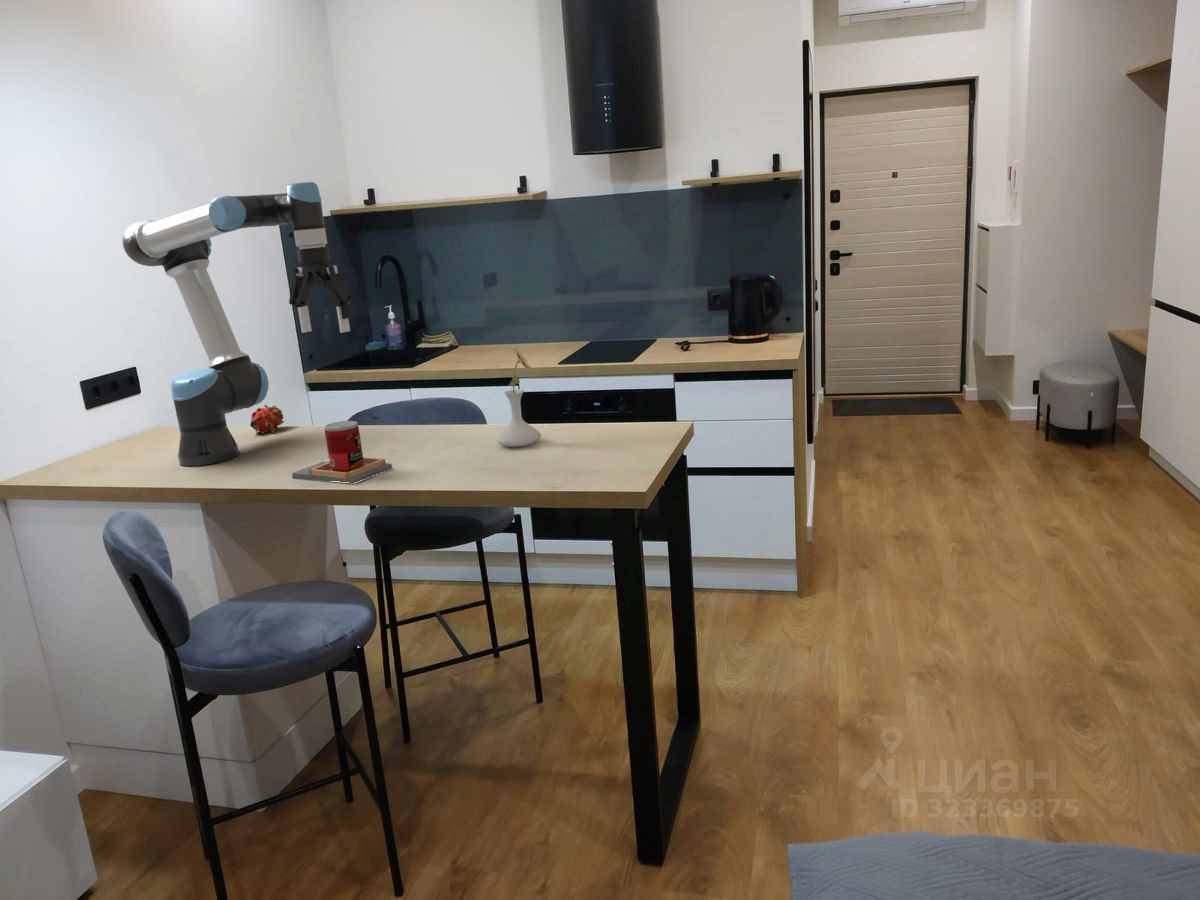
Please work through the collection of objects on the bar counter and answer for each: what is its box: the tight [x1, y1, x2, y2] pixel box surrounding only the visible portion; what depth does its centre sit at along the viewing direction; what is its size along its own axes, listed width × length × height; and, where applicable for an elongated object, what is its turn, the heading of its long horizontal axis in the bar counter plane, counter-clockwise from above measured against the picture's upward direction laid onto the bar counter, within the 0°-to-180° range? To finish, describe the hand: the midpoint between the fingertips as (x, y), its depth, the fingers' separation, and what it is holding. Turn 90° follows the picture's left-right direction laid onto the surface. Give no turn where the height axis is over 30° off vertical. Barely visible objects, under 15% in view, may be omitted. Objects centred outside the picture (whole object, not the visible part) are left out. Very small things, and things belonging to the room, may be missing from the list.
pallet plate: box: [291, 456, 393, 483], centre depth 224 cm, size 20×13×2 cm, turn 60°
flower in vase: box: [496, 345, 542, 448], centre depth 235 cm, size 13×11×25 cm
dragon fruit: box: [249, 404, 285, 435], centre depth 276 cm, size 8×8×12 cm
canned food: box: [323, 420, 364, 473], centre depth 222 cm, size 8×8×11 cm
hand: (325, 332), depth 237 cm, fingers open, 13 cm apart
